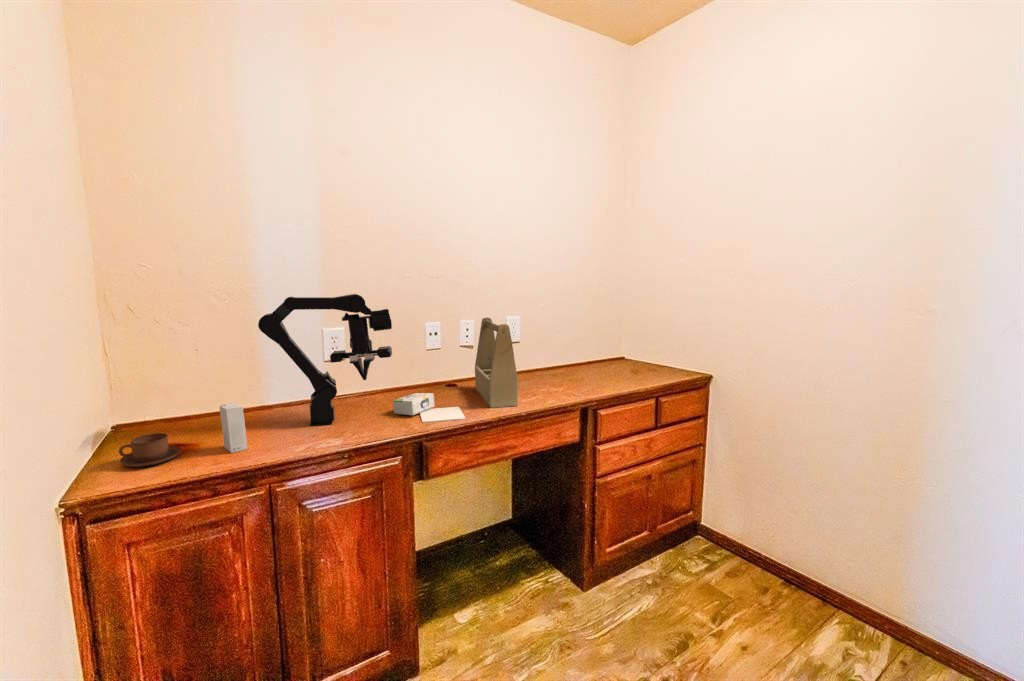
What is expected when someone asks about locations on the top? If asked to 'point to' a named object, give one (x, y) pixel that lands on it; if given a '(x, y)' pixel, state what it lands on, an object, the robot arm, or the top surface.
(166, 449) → the cup and saucer
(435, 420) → the mat
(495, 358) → the caddy
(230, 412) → the skincare box
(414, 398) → the ink box
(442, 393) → the top surface
